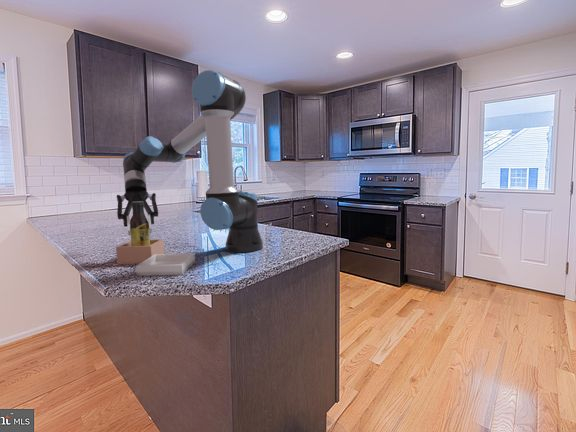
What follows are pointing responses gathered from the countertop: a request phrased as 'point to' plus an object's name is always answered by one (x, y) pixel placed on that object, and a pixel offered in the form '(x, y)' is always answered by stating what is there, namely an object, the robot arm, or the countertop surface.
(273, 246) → the countertop surface
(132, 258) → the holder
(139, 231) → the sauce bottle
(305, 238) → the countertop surface
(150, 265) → the tray
